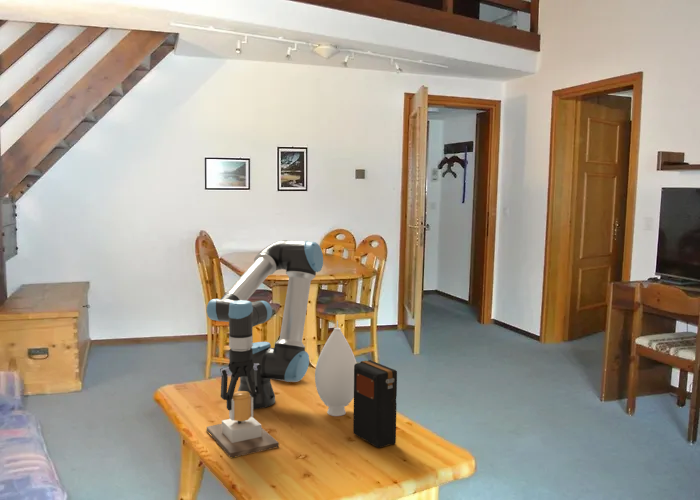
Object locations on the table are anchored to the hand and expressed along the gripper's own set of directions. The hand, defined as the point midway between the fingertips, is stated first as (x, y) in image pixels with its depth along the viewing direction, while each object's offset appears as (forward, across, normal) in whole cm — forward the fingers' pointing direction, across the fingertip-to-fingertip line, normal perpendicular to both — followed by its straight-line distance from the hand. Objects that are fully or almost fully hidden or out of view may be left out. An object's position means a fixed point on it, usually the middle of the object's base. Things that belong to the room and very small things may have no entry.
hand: (241, 417), depth 196 cm
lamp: (+8, -39, -5) cm, 40 cm away
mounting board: (+7, 0, 0) cm, 7 cm away
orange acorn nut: (0, 0, 0) cm, 0 cm away
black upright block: (+8, -38, +22) cm, 45 cm away
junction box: (+6, 0, 0) cm, 6 cm away
